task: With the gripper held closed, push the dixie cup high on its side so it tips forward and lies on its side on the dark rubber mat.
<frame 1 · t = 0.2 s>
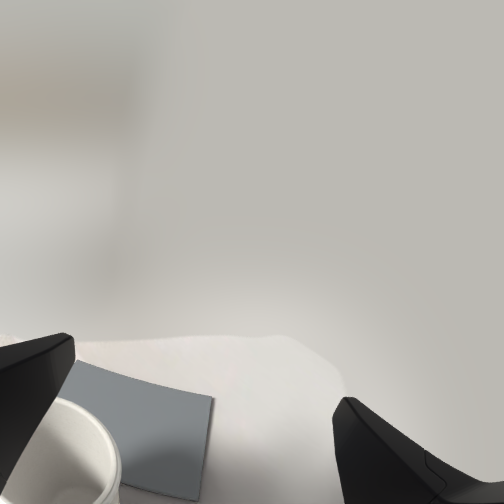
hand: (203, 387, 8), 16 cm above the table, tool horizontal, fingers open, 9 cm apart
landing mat: (121, 424, 21), on the table
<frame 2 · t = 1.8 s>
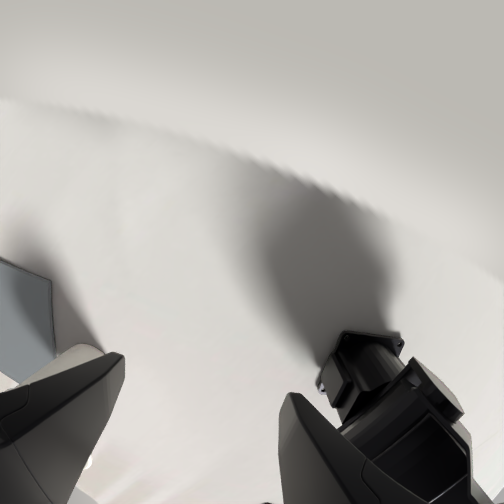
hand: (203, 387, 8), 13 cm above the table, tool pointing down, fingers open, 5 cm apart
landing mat: (14, 331, 22), on the table
dixie cup: (92, 367, 23), on the table
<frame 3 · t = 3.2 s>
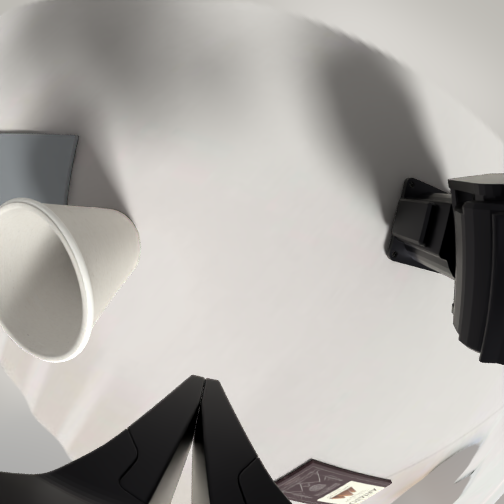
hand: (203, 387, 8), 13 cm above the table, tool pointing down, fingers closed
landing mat: (15, 221, 19), on the table
chocolate bar: (332, 485, 28), on the table
dixie cup: (109, 245, 20), on the table
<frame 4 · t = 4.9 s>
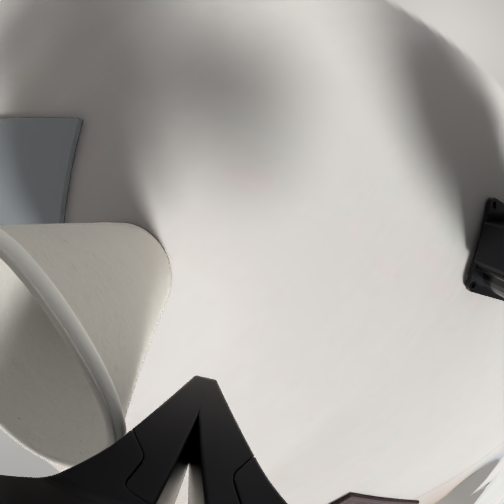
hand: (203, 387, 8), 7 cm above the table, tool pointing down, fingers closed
dixie cup: (125, 273, 15), on the table, touching gripper
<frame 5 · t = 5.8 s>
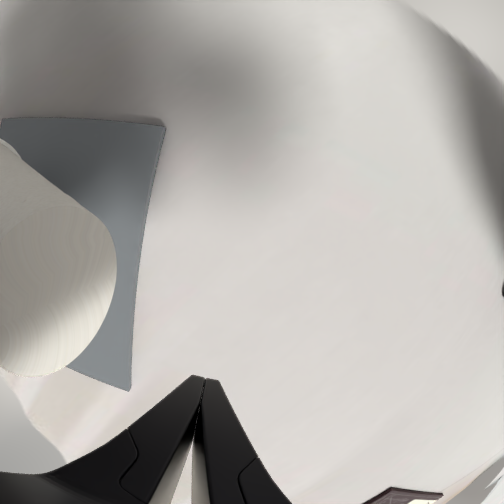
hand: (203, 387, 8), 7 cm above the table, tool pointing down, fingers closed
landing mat: (48, 250, 14), on the table
dixie cup: (59, 304, 7), point 8 cm above the table, touching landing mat
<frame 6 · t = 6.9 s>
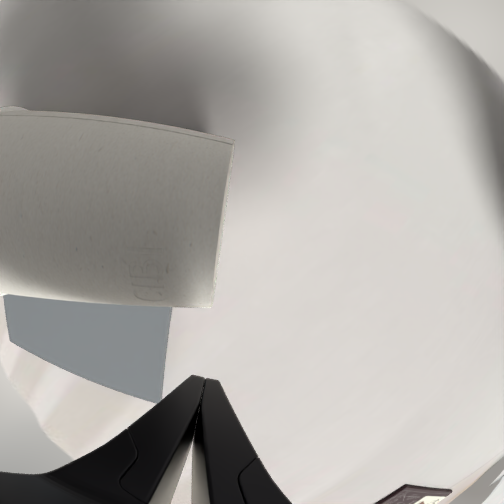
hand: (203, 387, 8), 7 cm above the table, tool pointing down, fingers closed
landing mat: (72, 261, 14), on the table
chocolate bar: (405, 502, 23), on the table
dixie cup: (228, 224, 10), point 4 cm above the table, touching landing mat
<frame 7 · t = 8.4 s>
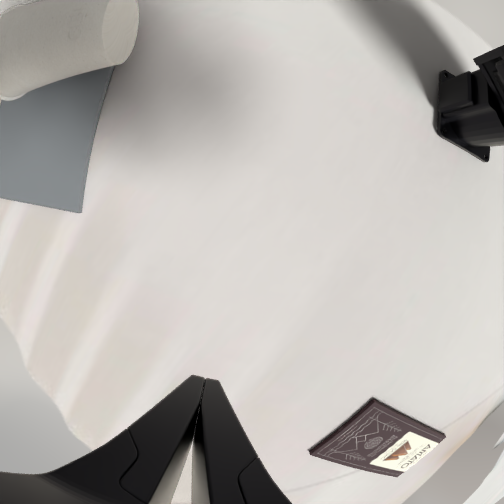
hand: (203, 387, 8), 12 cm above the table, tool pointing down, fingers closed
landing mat: (42, 109, 16), on the table
chocolate bar: (386, 442, 25), on the table
dixie cup: (125, 25, 12), point 4 cm above the table, touching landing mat
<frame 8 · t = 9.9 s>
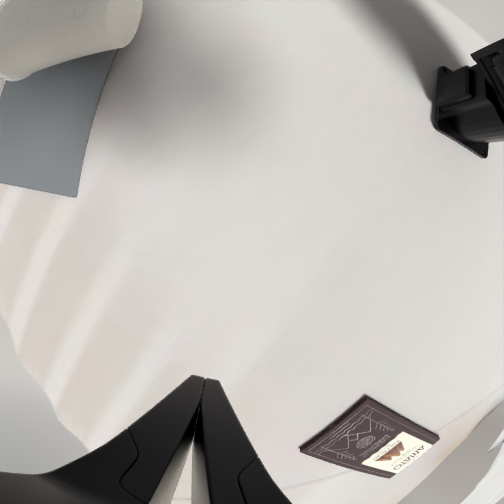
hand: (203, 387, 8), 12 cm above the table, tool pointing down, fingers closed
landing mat: (43, 95, 16), on the table
chocolate bar: (378, 442, 25), on the table
dixie cup: (129, 10, 12), point 4 cm above the table, touching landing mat
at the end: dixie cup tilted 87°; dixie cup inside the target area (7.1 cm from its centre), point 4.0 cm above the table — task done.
